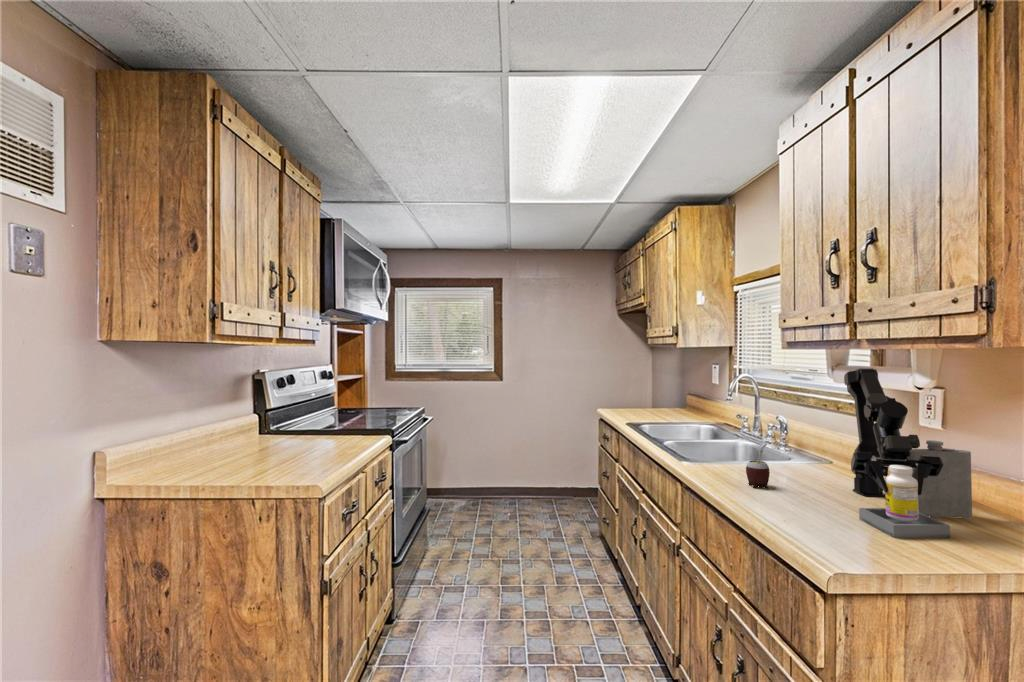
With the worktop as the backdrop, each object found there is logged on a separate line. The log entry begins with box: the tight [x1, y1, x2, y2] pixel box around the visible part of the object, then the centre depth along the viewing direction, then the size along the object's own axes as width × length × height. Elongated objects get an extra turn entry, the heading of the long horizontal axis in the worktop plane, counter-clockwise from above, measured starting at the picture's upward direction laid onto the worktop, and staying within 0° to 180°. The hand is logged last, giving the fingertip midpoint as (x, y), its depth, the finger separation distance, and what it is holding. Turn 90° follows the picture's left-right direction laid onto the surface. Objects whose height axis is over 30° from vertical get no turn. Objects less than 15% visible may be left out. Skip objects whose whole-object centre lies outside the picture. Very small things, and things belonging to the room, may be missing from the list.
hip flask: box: [907, 439, 973, 519], centre depth 138 cm, size 16×4×20 cm, turn 82°
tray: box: [858, 507, 951, 539], centre depth 128 cm, size 13×13×3 cm
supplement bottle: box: [884, 465, 919, 521], centre depth 129 cm, size 7×7×13 cm
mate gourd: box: [745, 443, 770, 489], centre depth 167 cm, size 8×8×15 cm
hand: (902, 492), depth 127 cm, fingers closed on supplement bottle, 7 cm apart
